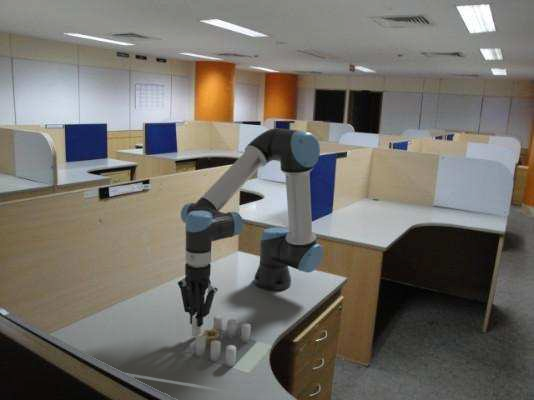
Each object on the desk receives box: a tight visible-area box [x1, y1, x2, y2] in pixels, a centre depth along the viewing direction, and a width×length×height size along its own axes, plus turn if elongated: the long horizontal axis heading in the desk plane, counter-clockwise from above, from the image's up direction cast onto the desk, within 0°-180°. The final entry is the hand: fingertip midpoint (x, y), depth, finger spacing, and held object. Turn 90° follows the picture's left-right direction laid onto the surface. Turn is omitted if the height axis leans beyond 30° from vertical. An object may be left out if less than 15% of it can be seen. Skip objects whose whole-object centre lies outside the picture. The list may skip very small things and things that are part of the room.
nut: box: [201, 328, 220, 347], centre depth 136 cm, size 6×5×3 cm
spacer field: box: [184, 315, 273, 374], centre depth 133 cm, size 16×21×6 cm
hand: (196, 334), depth 138 cm, fingers closed
